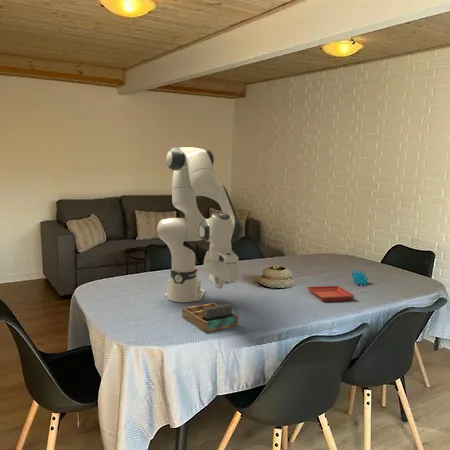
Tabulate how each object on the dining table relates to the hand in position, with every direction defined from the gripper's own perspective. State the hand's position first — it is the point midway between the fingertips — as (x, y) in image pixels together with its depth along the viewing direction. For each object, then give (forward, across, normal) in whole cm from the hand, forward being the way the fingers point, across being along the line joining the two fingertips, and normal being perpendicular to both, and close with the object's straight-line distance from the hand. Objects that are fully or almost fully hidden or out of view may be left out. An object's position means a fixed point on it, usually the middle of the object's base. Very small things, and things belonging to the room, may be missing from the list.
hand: (218, 287), depth 187 cm
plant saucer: (+17, -8, +73) cm, 75 cm away
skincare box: (+16, -57, +36) cm, 69 cm away
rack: (+16, -6, 0) cm, 17 cm away
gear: (+16, -17, +105) cm, 108 cm away
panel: (+15, 0, 0) cm, 15 cm away
